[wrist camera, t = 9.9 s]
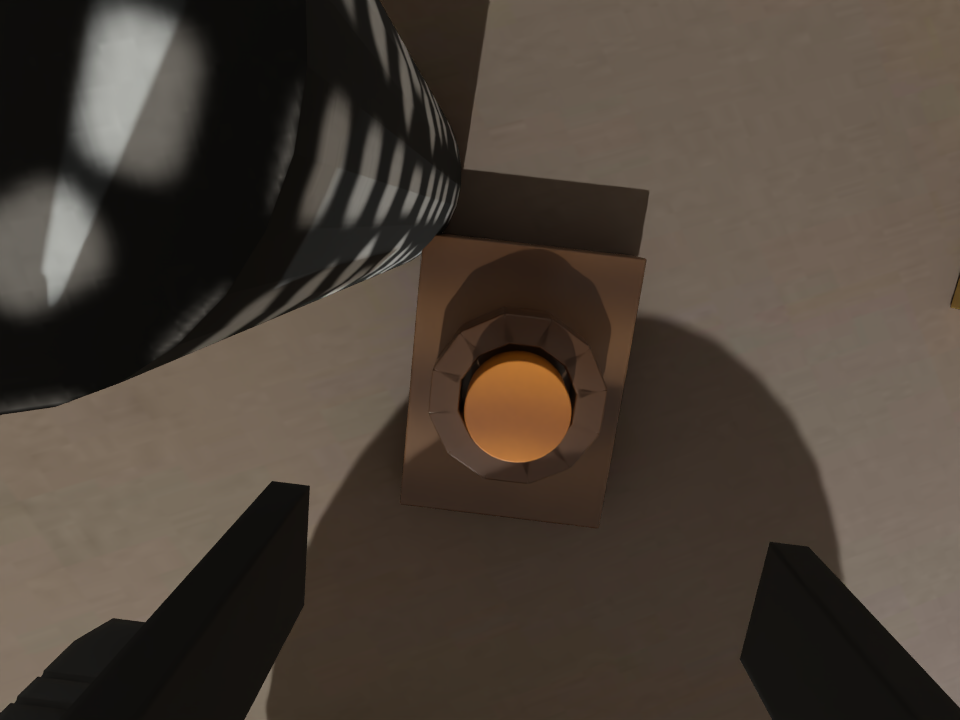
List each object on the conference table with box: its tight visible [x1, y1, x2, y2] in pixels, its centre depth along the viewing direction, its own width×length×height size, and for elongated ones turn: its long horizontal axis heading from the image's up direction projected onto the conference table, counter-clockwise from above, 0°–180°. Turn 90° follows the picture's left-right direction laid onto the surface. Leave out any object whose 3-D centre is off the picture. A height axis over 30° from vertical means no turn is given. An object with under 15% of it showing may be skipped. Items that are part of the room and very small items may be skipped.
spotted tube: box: [0, 0, 461, 415], centre depth 15 cm, size 8×8×20 cm
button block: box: [400, 233, 646, 528], centre depth 25 cm, size 12×9×4 cm
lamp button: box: [464, 350, 572, 462], centre depth 22 cm, size 4×4×2 cm
